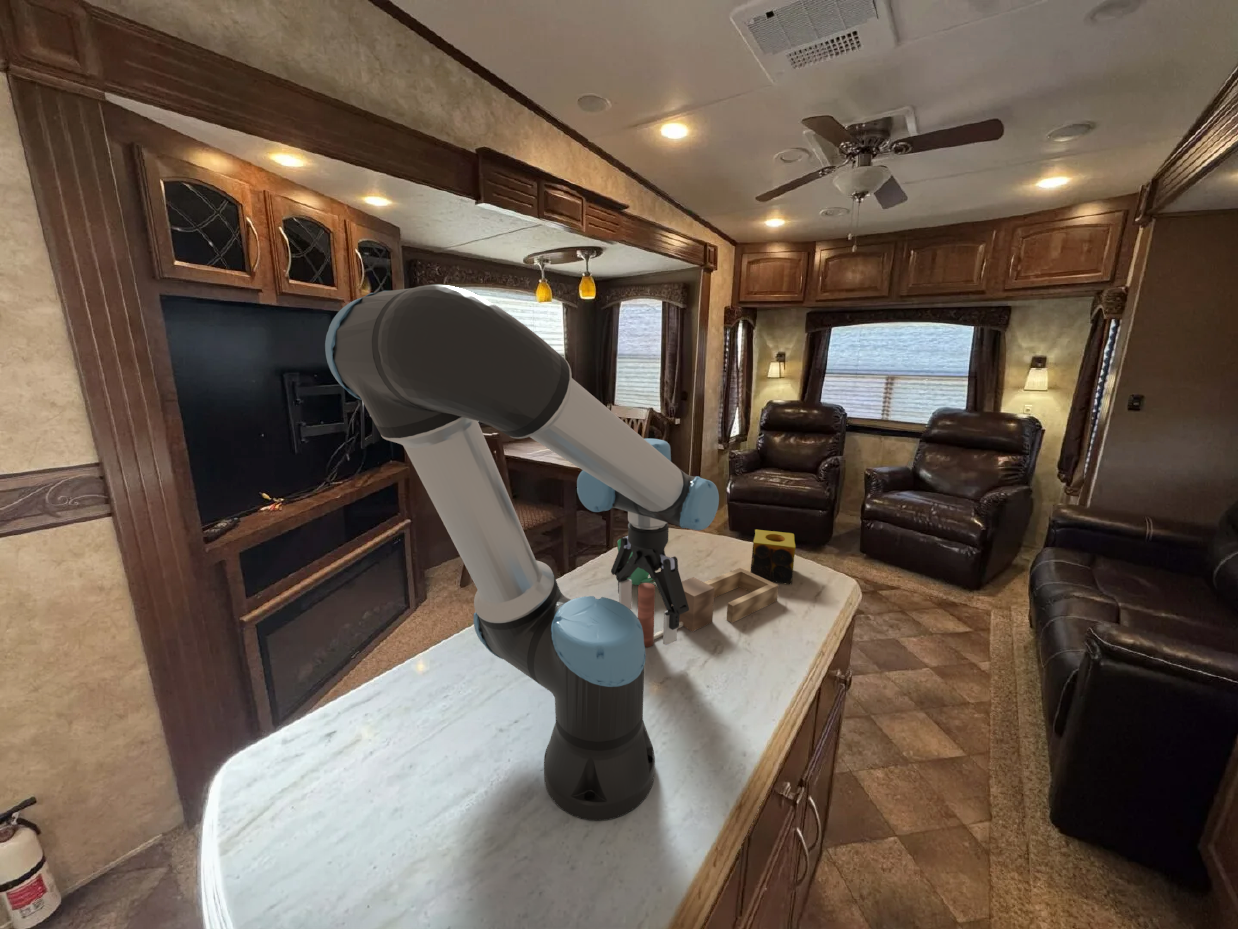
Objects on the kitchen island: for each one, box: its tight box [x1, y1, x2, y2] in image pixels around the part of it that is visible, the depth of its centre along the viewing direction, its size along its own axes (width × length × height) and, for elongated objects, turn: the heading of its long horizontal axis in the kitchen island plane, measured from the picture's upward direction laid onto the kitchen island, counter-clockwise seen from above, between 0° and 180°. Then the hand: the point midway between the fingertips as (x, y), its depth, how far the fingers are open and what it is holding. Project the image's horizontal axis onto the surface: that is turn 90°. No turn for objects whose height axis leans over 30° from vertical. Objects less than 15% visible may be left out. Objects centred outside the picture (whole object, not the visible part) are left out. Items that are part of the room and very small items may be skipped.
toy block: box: [750, 529, 797, 585], centre depth 123 cm, size 10×10×10 cm
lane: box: [703, 567, 779, 624], centre depth 110 cm, size 16×11×4 cm
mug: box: [616, 535, 655, 586], centre depth 118 cm, size 15×10×10 cm
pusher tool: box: [637, 576, 715, 648], centre depth 98 cm, size 18×6×12 cm, turn 127°
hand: (646, 625), depth 94 cm, fingers open, 13 cm apart
